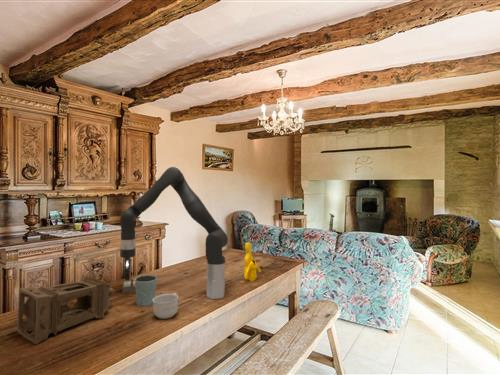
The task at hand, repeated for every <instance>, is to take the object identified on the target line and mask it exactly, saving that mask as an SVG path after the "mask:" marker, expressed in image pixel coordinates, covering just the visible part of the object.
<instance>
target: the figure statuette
mask: <svg viewBox="0 0 500 375" xmlns="http://www.w3.org/2000/svg"><path fill="white" fill-rule="evenodd" d="M244 249H245V250H244V251H245V256H244V260H243V262H244V263H243V264H244V271H243V276H244V277H243V278H244V280H246V281H250V282H254V281H256V280H257V272H258V273H260V272H262V270H261V268H260V267H259V265H258V264H257V261H256V260H255V259H254V257H253V254H252V242H245V244H244Z"/></svg>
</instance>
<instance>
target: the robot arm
mask: <svg viewBox="0 0 500 375" xmlns="http://www.w3.org/2000/svg"><path fill="white" fill-rule="evenodd" d="M170 186H171V187H172V188H173V190H174V191H175V192H176V193H177V195H178V197H179V199H180V200H181V202H182V204H183V207H184V209H185V210H186V212H187V213H188V215H189V216H190V217H191V219H192V220H194V222H196V223H197V224H199V225H200V226H201V227H202V228H204V229H205V231H206V233H207V235H206V238H205V246H204V247H205V257H206V258H205V259H206V297H207V298H208V299H211V300H216V299H217V300H218V299H224V297H225V289H226V288H225V283H226V256H224V255H223V248H225V247H226V246H227V245H228V243H229V242H228V241H229V239H228V235H227V234H226V232H225V231H224V230H223V228H222V227H221V226H220V225H219V224H218V223H217V221H216V220H215V219H214V217H213V216H212V214H211V213H210V212H209V210H208V209H207V208H206V205H205V204H204V203H203V201H202V200H201V198H200V197H199V196H198V195H197V194H196V193H195V192H194V190H193V189H192V188H191V186H190V185H189V184H188V181H187V180H186V178H185V176H184V174H183V172H182V171H181V170H180V169H179V168H177V167H176V166H170V167H168V168H167V169H166V170H165V171H164V172H163V173H162V174H161V175H160V177H159V178H158V179H157V180H156V181H155V183H154V184H152V186H151V187H150V188H149V189H148V190H146V192H145V193H144V194H142V195H140V196H139V198H137V200H136V201H135V202H134V203H133V204H131V206H129V207H128V208H126V209H125V210H124V211H123V212H121V214H120V218H119V219H120V220H119V221H120V243H119V244H120V245H119V256H120V258H124V259H123V270H124V280H126V281H128V280H131V279H130V278H131V276H130V275H131V270H132V262H133V258H134V257H136V247H137V246H136V244H137V243H136V242H137V241H136V229H135V220H136V219H138V217H140V216H141V214H143V213H144V212H146V211H147V210H148V209H149V208H150V207H151V206H152V205H153V204H154V203H155V202H156V201H157V200H158V198H159V197H160V195H161V194H162V192H163V191H165V189H167V188H168V187H170Z"/></svg>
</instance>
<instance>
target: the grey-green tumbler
mask: <svg viewBox="0 0 500 375" xmlns="http://www.w3.org/2000/svg"><path fill="white" fill-rule="evenodd" d="M134 278H135V288H136V292H135V295H136V296H135V304H136V305H137V306H138V307H149V306H151V305H152V306H153V301H152V300H153V298H155V297H156V292H157V291H156V290H157V282H158V277H157V275H154V274H143V275H139V276H136V277H134Z"/></svg>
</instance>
